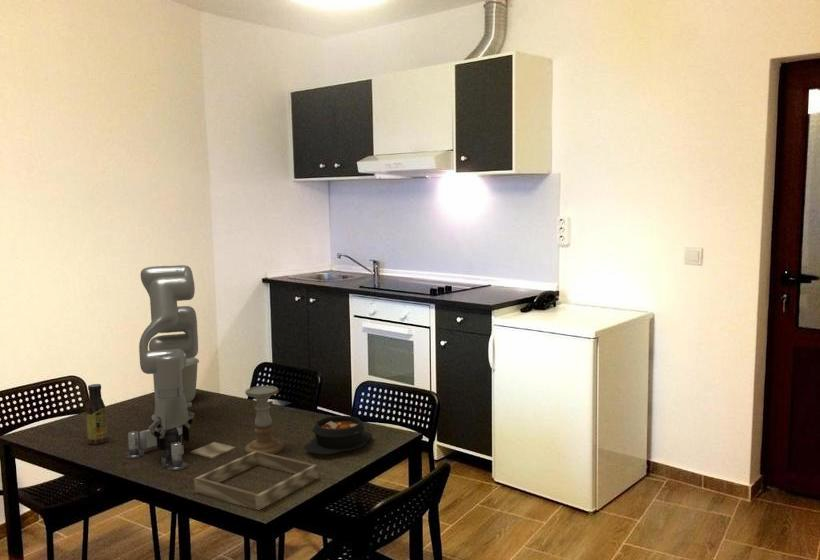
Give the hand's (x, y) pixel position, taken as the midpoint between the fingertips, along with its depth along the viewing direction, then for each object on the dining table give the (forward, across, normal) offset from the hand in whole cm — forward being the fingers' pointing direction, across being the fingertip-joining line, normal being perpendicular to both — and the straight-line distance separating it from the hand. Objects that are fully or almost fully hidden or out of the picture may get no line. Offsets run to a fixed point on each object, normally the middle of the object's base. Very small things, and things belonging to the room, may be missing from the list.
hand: (173, 444), depth 220 cm
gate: (+2, -3, -9) cm, 10 cm away
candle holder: (+4, -18, +23) cm, 29 cm away
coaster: (+3, -9, +9) cm, 13 cm away
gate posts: (+3, +6, -1) cm, 7 cm away
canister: (+3, -42, -47) cm, 63 cm away
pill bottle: (+4, 0, 0) cm, 4 cm away
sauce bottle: (+4, +4, -33) cm, 34 cm away
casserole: (+4, -32, +43) cm, 53 cm away
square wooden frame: (+4, +4, +41) cm, 41 cm away
